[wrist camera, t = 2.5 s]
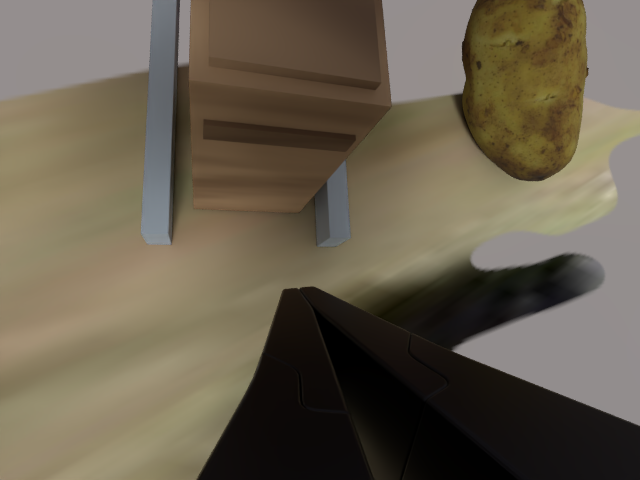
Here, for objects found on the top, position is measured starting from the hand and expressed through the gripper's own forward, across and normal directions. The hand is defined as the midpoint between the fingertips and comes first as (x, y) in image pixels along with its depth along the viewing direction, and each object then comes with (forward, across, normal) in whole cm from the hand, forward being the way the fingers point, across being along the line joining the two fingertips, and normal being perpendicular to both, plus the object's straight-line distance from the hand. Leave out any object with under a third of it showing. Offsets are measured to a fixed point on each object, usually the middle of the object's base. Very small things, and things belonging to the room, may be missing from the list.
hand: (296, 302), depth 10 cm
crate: (+15, 0, -1) cm, 15 cm away
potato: (+19, +19, +1) cm, 27 cm away
